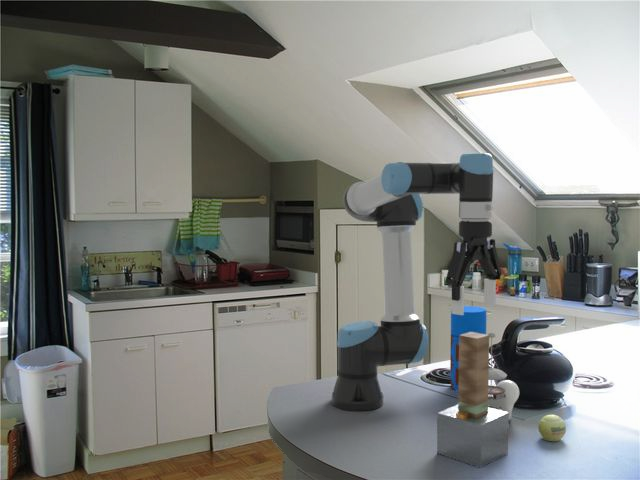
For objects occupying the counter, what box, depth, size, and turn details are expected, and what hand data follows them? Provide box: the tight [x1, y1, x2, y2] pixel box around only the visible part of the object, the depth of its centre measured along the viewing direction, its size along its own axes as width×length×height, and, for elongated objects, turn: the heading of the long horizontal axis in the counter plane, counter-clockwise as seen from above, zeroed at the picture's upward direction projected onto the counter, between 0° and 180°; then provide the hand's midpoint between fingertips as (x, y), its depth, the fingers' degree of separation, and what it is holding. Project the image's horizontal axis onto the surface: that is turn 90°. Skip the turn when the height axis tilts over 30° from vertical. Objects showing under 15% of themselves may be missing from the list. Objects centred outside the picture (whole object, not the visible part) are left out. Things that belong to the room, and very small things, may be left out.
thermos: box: [449, 305, 488, 392], centre depth 218 cm, size 11×11×25 cm
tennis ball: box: [537, 414, 567, 442], centre depth 176 cm, size 6×7×7 cm
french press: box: [487, 332, 510, 429], centre depth 186 cm, size 10×12×25 cm
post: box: [457, 332, 490, 418], centre depth 166 cm, size 5×5×22 cm
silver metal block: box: [436, 404, 510, 468], centre depth 167 cm, size 12×12×11 cm
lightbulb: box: [495, 379, 520, 421], centre depth 190 cm, size 6×6×11 cm
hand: (474, 310), depth 165 cm, fingers open, 13 cm apart
